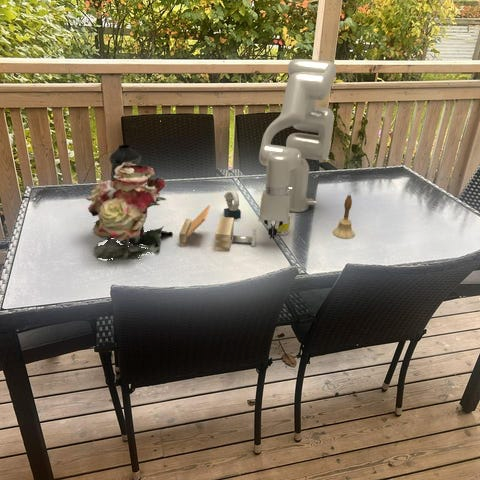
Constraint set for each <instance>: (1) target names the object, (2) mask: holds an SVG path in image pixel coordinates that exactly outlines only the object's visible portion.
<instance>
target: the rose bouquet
mask: <svg viewBox="0 0 480 480" xmlns="http://www.w3.org/2000/svg"><path fill="white" fill-rule="evenodd" d="M115 173H116V174H115V176H113V177H114V179H115V181H114V182H113V181H111V179H109V180H105V181H100V183H97V184H96V185H94V186H93V187H92V189H93V190H90V193H91V196H88V197H86V198H85V200H87V201H89V202H90V201H91V204H90V205H89V207H88V212H89V213H90V214H91V215H92V216H93V217H95V216H96V217H98V219H97V220H96V221H94V223H95V224H94V226H93V229H92V232H93V234H94V235H95V236H96V237H98V238H101V239H106V238H107V240H108V241H107V242H106V243H105V244H104V245H100V246H96V245H95V246H96V247H94V248H93V251H92V252H93V254H94V255H95V257H96V259H97V258H102V259H108V260H107V261H106V262H113V261H121V260H137V259H138V261H140V260H139V259H140V258H141V257H142V256H141V255H142V254H146V253H147V252H150V253H151V254H152V252H153V253H154V254H156V255H155V256H158V255H160V251H161V236H162V234H169V235H170V234H171V236H173V234H174V233H173V231H165V230H163V228H165V226H164V225H163V226H161V227H160V228H156V229H149V230H150V231H147V232H144V230H145V228H144V227H145V226H144V224H145V223H146V220H147V217H148V208H150V207H152V206H160V203H158V202H160V201H167V198H166V197H162V196H161V195H160V192H161V191H162V190H164V188H166V187H167V184H166V182H165V180H164V177H158V178H155V179H154V176H155V175H156V173H155V170H154V168H152V167H150V166H145V165H142V164H140V165H136V164H132V163H123V164H122V165H121V166H118V167H117V168H116V169H115ZM113 186H115V188H116V189H115V188H114V187H113ZM174 198H175V197H174ZM111 238H114V239H111ZM117 240H118V241H121V242H123V241H125V242H124V244H125V245H120V244H119V243H117V242H116V241H117ZM129 242H130V243H129ZM129 244H130V245H131V244H133V246H129V247H128V245H129ZM139 244H143V245H146V246H145V247H148V249H147V248H146V249H145V248H141V247H142V246H141V247H139V246H140V245H139ZM137 245H138V246H137ZM149 247H150V248H149ZM147 254H148V253H147ZM139 255H140V257H139ZM138 257H139V258H138ZM111 258H113V260H112V259H111ZM109 259H110V260H109Z"/></svg>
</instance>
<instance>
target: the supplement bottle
mask: <svg viewBox="0 0 480 480" xmlns="http://www.w3.org/2000/svg"><path fill="white" fill-rule="evenodd" d="M288 219H289V223H288V224H282V225H281V226H280V227H278V229H277V235H279V236H285V235H287V234H289V230H290V223H291V222H290V220H291V212H289V218H288ZM275 222H276V221H274V223H275Z"/></svg>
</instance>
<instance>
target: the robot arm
mask: <svg viewBox="0 0 480 480" xmlns="http://www.w3.org/2000/svg"><path fill="white" fill-rule="evenodd" d="M287 73H288V76H289V77H288V78H287V81H286V86H285V91H284V96H283V101H282V107H281V112H280V114H279V116H278V117H276V118H275V119H274V120H273V121H272V122H271V123H270V124H269V125H268V126H267V128H266V130H265V132H264V133H263V135H262V138H261V139H262V140H261V145H260V149H259V154H258V155H259V156H258V158H259V162H260V164H261V165H262V166H264V167H266V177H265V189H264V190H262V194H261V198H260V205H259V215H258V222H259V223H264V224H265V225H266V226H267V228H268V232H267V235H268V236H269V239H270V240H271V239H273V240H274V239H275V236H277V235H278V234H277V229H278V227H280V226H281V225H282V224H288V223H289V224H290V222H289V219H288V218H289V213H301V212H303V213H304V212H305V211H308V209H309V206H310V205H311V206H316V205H317V200H314V198H308V197H307V192H308V181H309V176H310V175H309V174H310V166H309V163H308V161H307V160H306V159H308V160H315V161H326V160H327V159H328V158H329V155H330V151H331V146H332V145H331V143H332V137H333V131H334V130H333V129H334V121H335V116H334V112H333V110H332V109H330V108H327V107H322V106H317V101H324V100H326V99H327V97H329V94H330V92H331V89H332V87H333V84H334V82H335V79H336V76H337V67H336V64H335V63H334V62H332V61H329V60H316V59H310V58H308V59H306V58H295V59H291V60H290V61H289V63H288V66H287ZM291 127H293V129H295V130H299V131H303V132H309V133H303V132H294V133H291V134H289V136H287V138H286V142H285V145H286V146H285V145H284V146H283V145H277V144H271V143H272V140H273V138H274V136H276V134H278V133H279V132H280V131H282V130H285V129H286V128H291ZM310 132H311V133H318V134H319V135H316V134H310ZM275 221H276V222H275ZM272 222H274V224H273V223H272Z"/></svg>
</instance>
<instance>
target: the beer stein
mask: <svg viewBox="0 0 480 480" xmlns="http://www.w3.org/2000/svg"><path fill="white" fill-rule="evenodd" d="M108 159H109V162H110V164H111V172H110V181H113V182H114V181H115V179H114V177H113V176H115V174H116V173H115V169H116V168H117V167H118V166H121V165H122V164H123V163H132V164H136V165H141V162H142V156H141V155H140V153H138V152H137V151H136V150H135V149H133V148H131V146H130V145H128V144H121V145H119V146H118V147H117V149H116V150H115V151H114V152H112V154H111V155H110V156H109V158H108ZM113 187H114V188H115V186H113ZM115 189H116V188H115Z"/></svg>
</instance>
